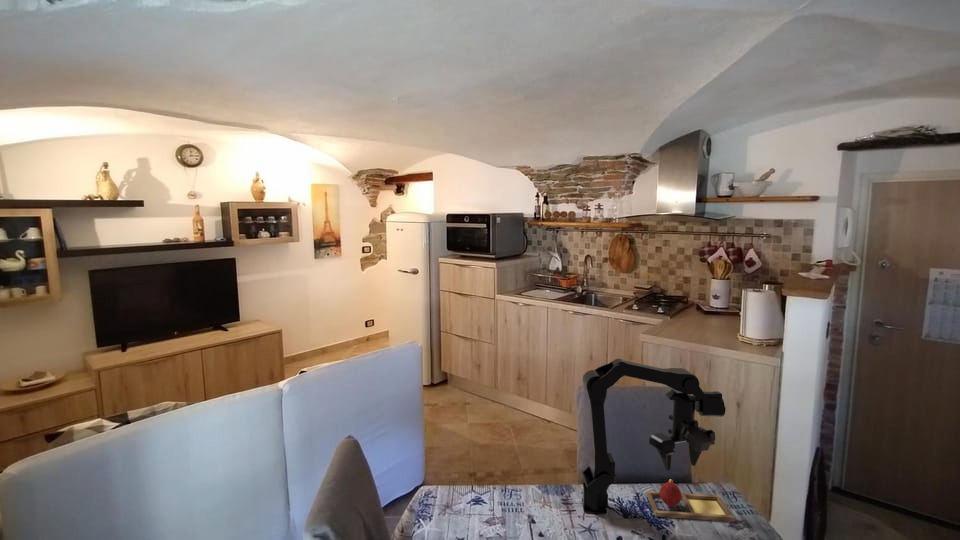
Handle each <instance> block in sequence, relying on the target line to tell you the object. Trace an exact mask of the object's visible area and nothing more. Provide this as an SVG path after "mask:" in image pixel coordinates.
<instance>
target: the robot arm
mask: <svg viewBox="0 0 960 540" xmlns="http://www.w3.org/2000/svg"><path fill="white" fill-rule="evenodd" d="M624 376H625V377H629V378H633V379H637V380H642V381H647V382H651V383H657V384H662V385H665V386H666V387H669V388H671V389H670V391H668V392H666V394H665V397H666V398H667V399H669V400H670V401H672V414H670V415H668V419H669V420H671V428H669V429H667V430H668V431H667V432H668V434H670V435H671V436H668V435H666V434H664V433H663V432H658V433H653V434H650V436H649V441H648V443H649V444H650V445H651V446H652V447H654V448H655V449H656V450H657V452H658V454H659V456H660V459H661V461H662V464H663V466H664V468H665V471H667V472H669V471H671V465H672V455H673V454H675V453H676V451H675V447H676V444H680V443H687V444H688V450H689V451H688V452H689V460H690V465H691V466H693V467H696V464H697V463H698V460H699V458H700V456H701V453H702V452H704V451H706V452H707V451H709V449H710V446H713V445H715V444H716V442H715V441H716V432H715V431H714V430H713V429H706V428H703V427H701V426H699V421H698V420H697V419H696V418H695V415H696V412H697V413H698V414H699V416H701V417H715V418H716V417H720V418H722V417H724V416H725V414H726V410H727V409H726V406H725V401H724V399H723V393H721V392H720V391H716V390H715V391H703V390H702V389H701V386H700V380H699V379H698V377H697V375H695V374H693V373H691V372H690V371H689V370H688V369H686V368H680V367H679V368H678V367H670V368H661V367H657V366H650V365H646V364H643V363H637V362H632V361H627V360H624V359H622V358H615V359H614V360H612V361H611V362H610V361H609V362H608V363H606V364H603V365H600V366H599V367H597V368H595V369H594V370H593V369H590V370H588V371H586V372H585V373H584V374H583V376H582V383H583V386H584V391H585V394H586V397H587V401H588V406H589V409H588V410H589V419H590V431H591V433H590V434H591V443H592V450H591V454H590V458H589V459H590V460H589V465H588V466H587V467H586V468H585V469H584V470H583V471H582V472H581V475H582V477H583V480H584V482H582V498H581V504H582V508H583V513H585V514H586V513H587V514H603V515H607V514H608V509H609V493H608V489H609V487H610V486H611V485H612V484H613V483H614V482H615V477H617V474H616V461H615V460H614V459H615V458H614V457H613V455H612V453H611V452H608V443H607V431H606V430H607V429H606V419H605V418H606V417H605V416H606V415H605V403H606V400H607V393H608V389H610V388H611V387H613V386H614V385H615V384H616V383H617V382H618V381H619V380H620V379H622V378H623V377H624Z"/></svg>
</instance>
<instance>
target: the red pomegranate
mask: <svg viewBox="0 0 960 540" xmlns="http://www.w3.org/2000/svg"><path fill="white" fill-rule="evenodd" d="M659 488H660V489H659V492H660V497H659V498H661V501H662V502H663V503H664V504H665V505H666V506H668V507H675V506H678V504H680V502H681V501H682V499H681V493H682V492H681V489H680V488H679V486H678V485H677V484H676V483H674V479H672V478H670V479H669V480H668V481H667V482H665V483H663V484H662V485H661V486H660V487H659Z"/></svg>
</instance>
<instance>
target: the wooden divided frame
mask: <svg viewBox="0 0 960 540" xmlns="http://www.w3.org/2000/svg"><path fill="white" fill-rule="evenodd" d="M645 496H646V498H647V499H648V503H649V505H650V507H651V510H652V512H653V514H654V516H655V517H656V518H657V517H658V518H659V517H660V518H670V519H671V518H673V519H685V520H686V519H688V520H704V521H713V522H715V521H716V522H717V521H718V522H730V523H734V522H736V517H735V516H734V514H733V513H732V511H731V510H730V509H729V507H728V506H727V504H726V503H725V501H724V500H723V499H722V497H721V496H720V495H719V494H718V495H715V494H703V493H702V494H701V493H685V492H683V493H682V492H681V501H682V502H683V504H684V506H685V508H686V510H687V511H688V512H684V511H670V510H667V511H666V510H659V508H658V506H657V505H656V503H655V500H654V498H661V497H660V491H654V490H653V491H652V490H646V491H645Z"/></svg>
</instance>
